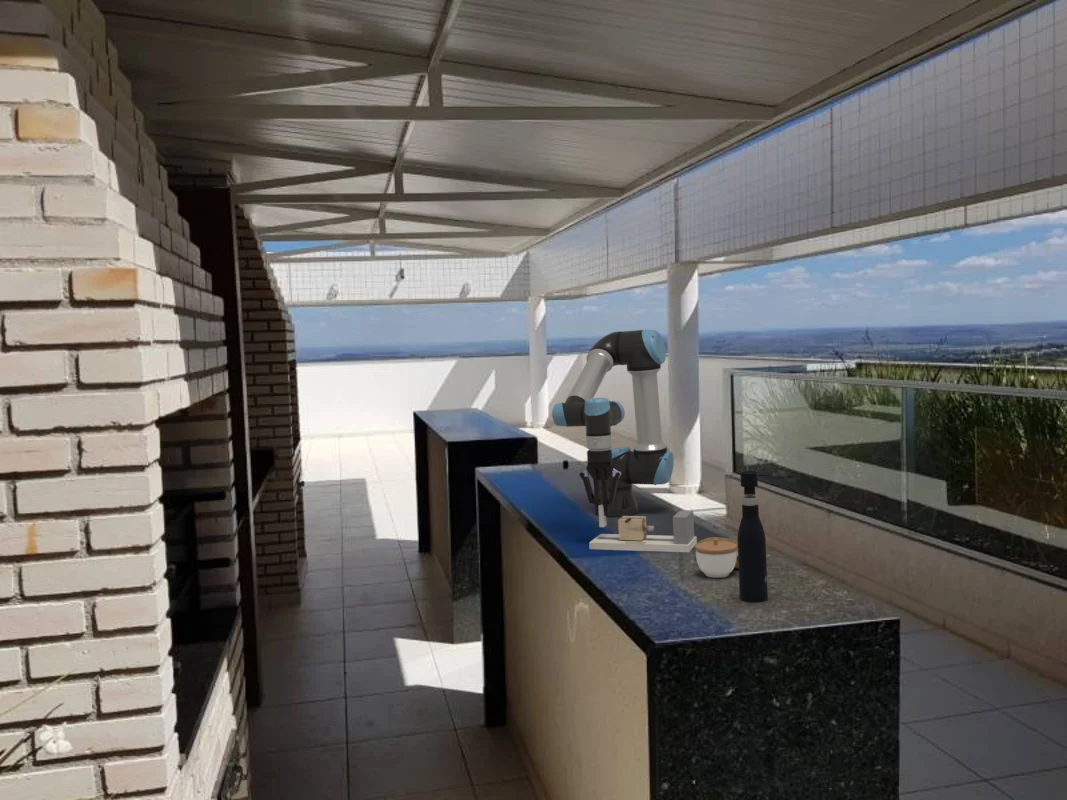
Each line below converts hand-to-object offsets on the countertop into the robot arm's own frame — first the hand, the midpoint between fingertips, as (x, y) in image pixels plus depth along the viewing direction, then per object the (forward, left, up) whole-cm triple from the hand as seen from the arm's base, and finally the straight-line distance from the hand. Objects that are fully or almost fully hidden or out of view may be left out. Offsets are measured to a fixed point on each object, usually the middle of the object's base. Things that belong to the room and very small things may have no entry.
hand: (603, 526), depth 282 cm
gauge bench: (0, +12, -6) cm, 14 cm away
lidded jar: (+29, +39, -6) cm, 49 cm away
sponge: (+16, +40, -6) cm, 43 cm away
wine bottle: (+49, +51, -6) cm, 71 cm away
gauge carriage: (+2, +11, -3) cm, 11 cm away
